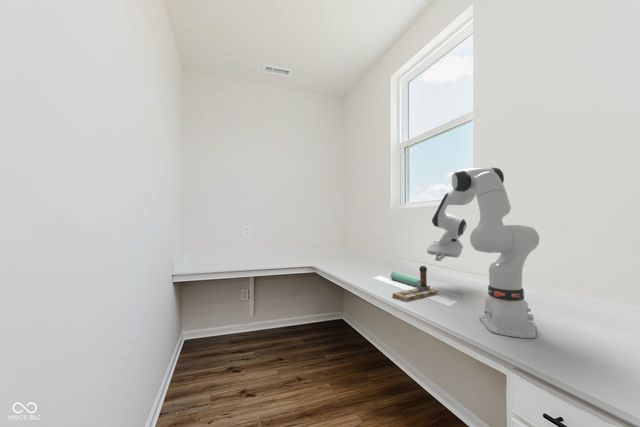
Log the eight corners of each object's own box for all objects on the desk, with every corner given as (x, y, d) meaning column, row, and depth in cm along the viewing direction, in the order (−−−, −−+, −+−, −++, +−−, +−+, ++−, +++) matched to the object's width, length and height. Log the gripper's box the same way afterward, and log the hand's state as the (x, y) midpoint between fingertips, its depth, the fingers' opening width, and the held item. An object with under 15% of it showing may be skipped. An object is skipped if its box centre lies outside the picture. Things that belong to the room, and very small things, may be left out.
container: (421, 277, 172) (395, 269, 195) (414, 281, 170) (389, 273, 193) (424, 285, 173) (398, 277, 196) (417, 290, 171) (392, 281, 194)
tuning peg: (423, 288, 160) (422, 264, 160) (434, 290, 153) (433, 266, 153) (417, 289, 157) (416, 265, 157) (428, 292, 151) (427, 267, 151)
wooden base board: (422, 290, 163) (422, 286, 163) (437, 294, 155) (437, 290, 155) (392, 297, 151) (392, 292, 151) (407, 301, 142) (407, 297, 142)
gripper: (430, 238, 176) (420, 255, 171) (461, 240, 158) (450, 259, 153) (435, 244, 178) (425, 261, 173) (465, 247, 161) (456, 266, 155)
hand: (437, 260), depth 163 cm, fingers closed
